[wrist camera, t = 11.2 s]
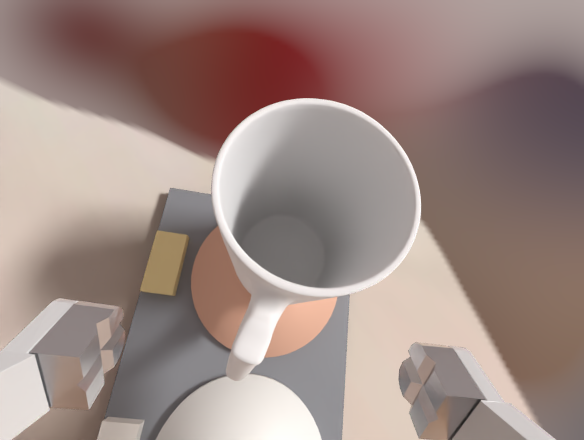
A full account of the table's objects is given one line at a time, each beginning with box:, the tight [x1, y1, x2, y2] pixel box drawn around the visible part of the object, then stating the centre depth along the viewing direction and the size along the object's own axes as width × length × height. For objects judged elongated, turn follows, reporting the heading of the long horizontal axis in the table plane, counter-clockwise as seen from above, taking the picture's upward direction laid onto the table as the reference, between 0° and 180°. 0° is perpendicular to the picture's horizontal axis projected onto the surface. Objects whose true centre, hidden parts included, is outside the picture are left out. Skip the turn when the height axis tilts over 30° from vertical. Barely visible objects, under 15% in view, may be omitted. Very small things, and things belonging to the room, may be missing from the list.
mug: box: [211, 98, 421, 381], centre depth 14 cm, size 10×7×12 cm, turn 157°
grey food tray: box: [97, 188, 350, 440], centre depth 19 cm, size 14×22×2 cm, turn 173°
